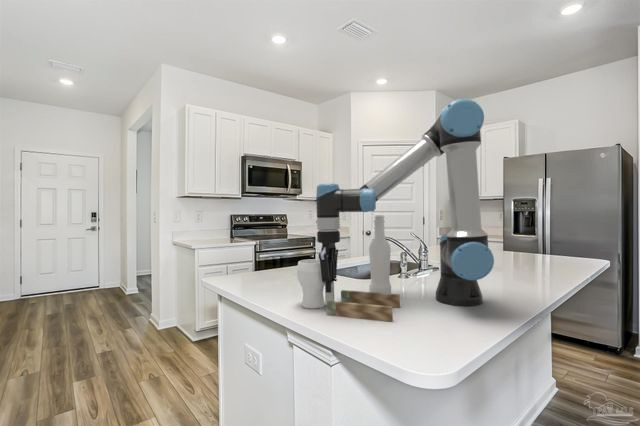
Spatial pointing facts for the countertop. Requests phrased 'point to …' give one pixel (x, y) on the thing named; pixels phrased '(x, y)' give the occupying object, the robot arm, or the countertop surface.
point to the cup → (311, 283)
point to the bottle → (379, 259)
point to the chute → (364, 305)
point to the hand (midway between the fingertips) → (329, 301)
